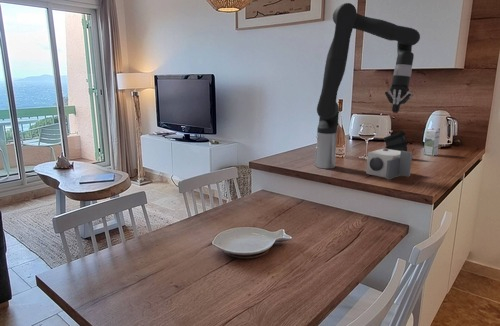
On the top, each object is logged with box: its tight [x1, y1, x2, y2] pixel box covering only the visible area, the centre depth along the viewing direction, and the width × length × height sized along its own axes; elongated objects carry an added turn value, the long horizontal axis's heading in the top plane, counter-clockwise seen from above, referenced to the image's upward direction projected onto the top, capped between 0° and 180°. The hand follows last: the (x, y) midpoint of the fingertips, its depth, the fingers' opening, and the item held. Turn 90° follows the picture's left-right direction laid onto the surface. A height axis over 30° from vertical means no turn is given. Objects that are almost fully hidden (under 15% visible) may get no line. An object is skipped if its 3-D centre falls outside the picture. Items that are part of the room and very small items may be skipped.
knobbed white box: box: [365, 147, 401, 180], centre depth 158 cm, size 12×15×11 cm
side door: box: [385, 150, 413, 180], centre depth 146 cm, size 6×10×11 cm, turn 130°
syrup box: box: [423, 128, 441, 157], centre depth 198 cm, size 6×6×14 cm
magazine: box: [383, 130, 409, 152], centre depth 191 cm, size 4×13×15 cm, turn 35°
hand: (395, 112), depth 164 cm, fingers closed
